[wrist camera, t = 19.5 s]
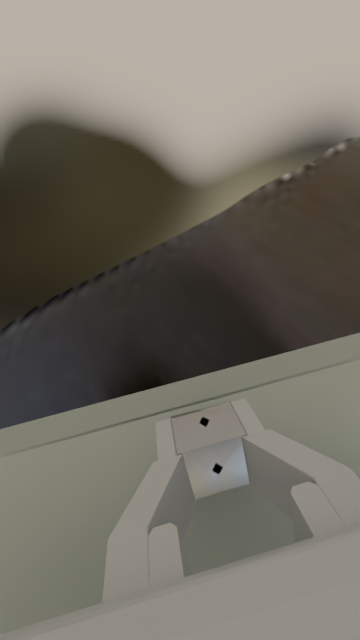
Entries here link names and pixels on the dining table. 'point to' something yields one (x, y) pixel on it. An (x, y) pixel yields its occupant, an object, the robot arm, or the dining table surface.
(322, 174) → the dining table surface
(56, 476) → the cover
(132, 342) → the dining table surface
